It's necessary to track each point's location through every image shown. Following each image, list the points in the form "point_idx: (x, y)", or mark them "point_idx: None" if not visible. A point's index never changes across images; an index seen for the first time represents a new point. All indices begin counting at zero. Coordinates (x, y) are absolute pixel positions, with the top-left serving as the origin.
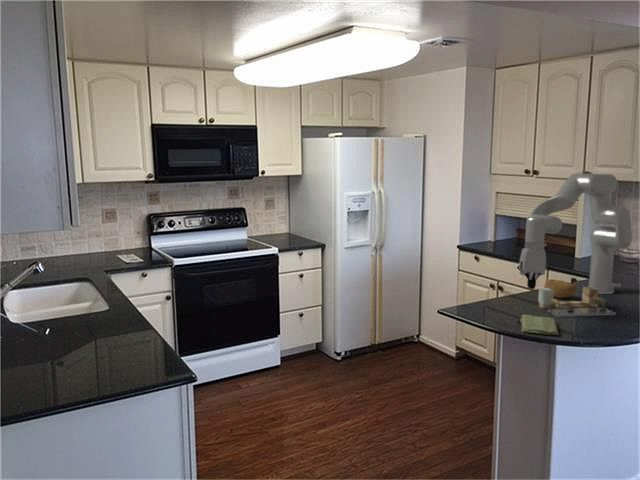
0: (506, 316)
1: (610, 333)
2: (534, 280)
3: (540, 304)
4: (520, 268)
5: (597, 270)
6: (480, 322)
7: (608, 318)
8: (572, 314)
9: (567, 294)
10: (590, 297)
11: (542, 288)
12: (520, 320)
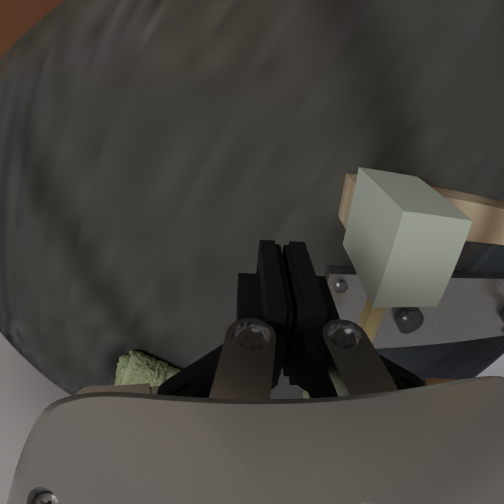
0: (79, 300)
1: None
2: (291, 378)
3: (348, 196)
4: (70, 415)
5: None
6: (2, 329)
7: (458, 356)
8: (377, 346)
9: None
10: None
11: (421, 229)
12: (118, 363)
